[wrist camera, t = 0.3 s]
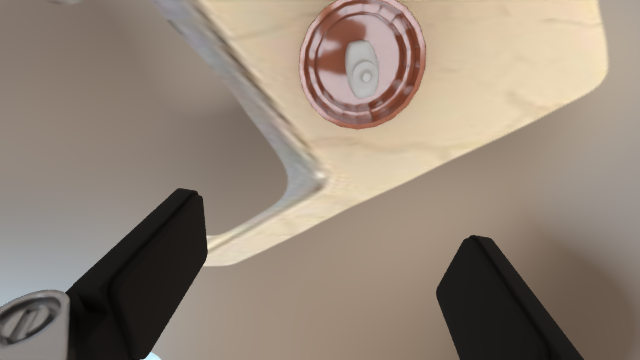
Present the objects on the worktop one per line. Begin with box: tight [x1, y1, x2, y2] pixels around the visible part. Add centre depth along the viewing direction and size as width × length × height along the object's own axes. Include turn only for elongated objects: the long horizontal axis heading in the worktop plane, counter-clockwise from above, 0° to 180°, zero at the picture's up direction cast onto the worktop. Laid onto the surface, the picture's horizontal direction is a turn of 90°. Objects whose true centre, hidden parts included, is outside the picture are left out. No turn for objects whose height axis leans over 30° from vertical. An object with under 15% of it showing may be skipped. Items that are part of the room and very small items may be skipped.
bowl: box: [299, 0, 426, 129], centre depth 31 cm, size 14×14×5 cm
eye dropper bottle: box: [345, 40, 379, 99], centre depth 28 cm, size 4×6×12 cm
